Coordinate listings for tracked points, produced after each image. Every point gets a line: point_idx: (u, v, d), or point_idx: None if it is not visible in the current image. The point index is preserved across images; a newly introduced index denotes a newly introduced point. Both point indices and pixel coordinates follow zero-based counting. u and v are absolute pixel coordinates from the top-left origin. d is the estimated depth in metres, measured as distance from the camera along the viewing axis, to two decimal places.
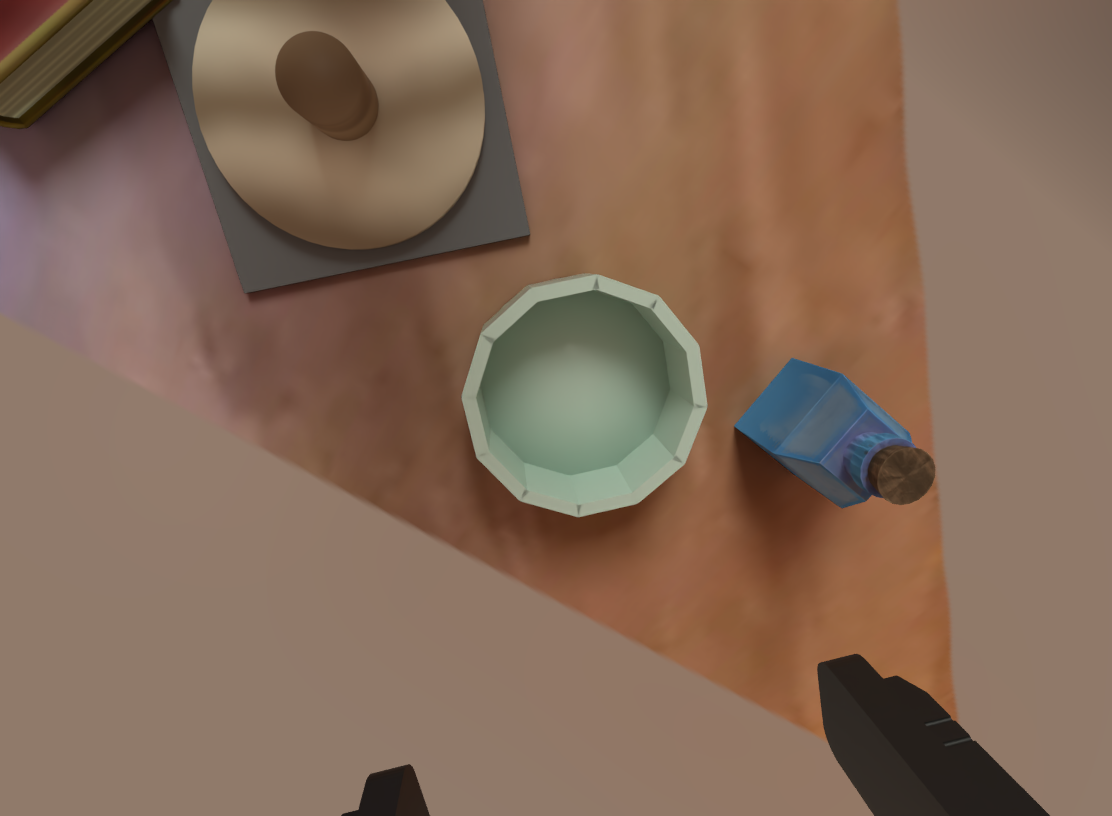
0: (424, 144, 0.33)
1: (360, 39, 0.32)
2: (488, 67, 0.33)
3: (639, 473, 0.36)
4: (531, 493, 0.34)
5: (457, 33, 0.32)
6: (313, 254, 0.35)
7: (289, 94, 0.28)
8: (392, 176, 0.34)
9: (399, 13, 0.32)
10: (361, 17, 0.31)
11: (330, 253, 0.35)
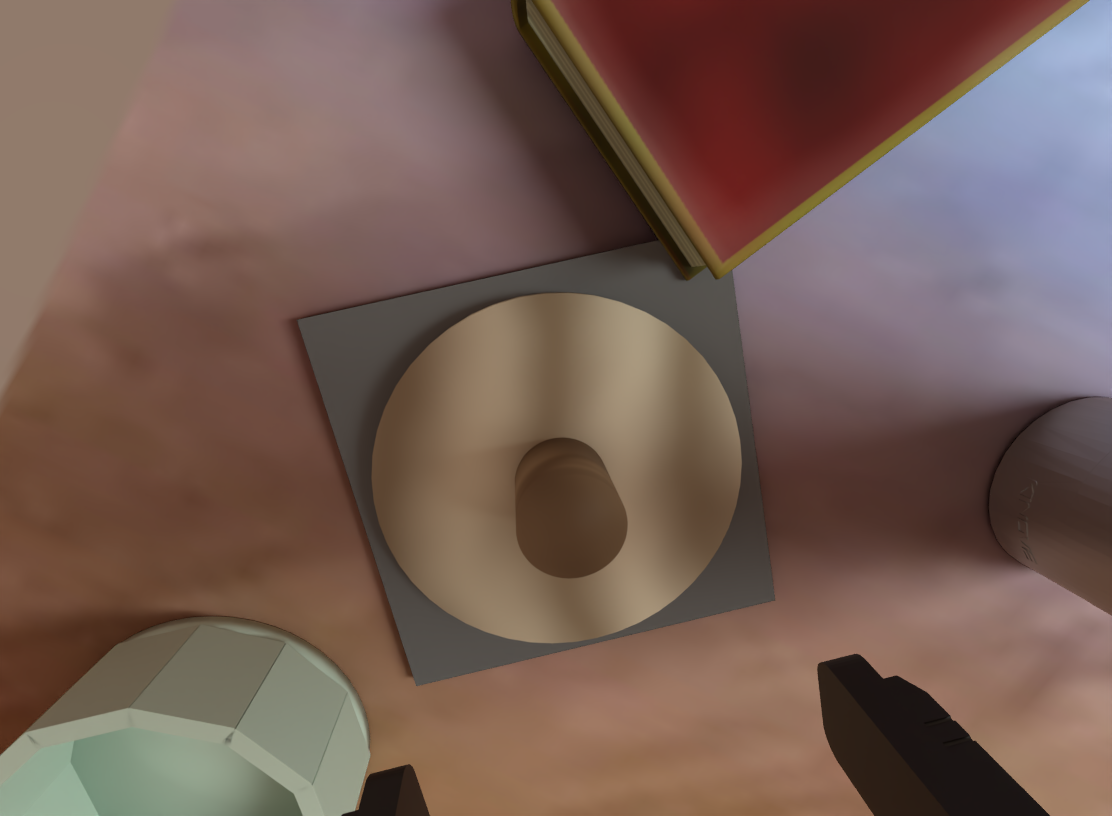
0: (515, 577, 0.26)
1: (634, 505, 0.25)
2: None
3: None
4: None
5: (641, 611, 0.27)
6: (365, 421, 0.24)
7: (548, 491, 0.20)
8: (473, 539, 0.25)
9: (662, 549, 0.26)
10: (658, 507, 0.25)
11: (369, 444, 0.25)
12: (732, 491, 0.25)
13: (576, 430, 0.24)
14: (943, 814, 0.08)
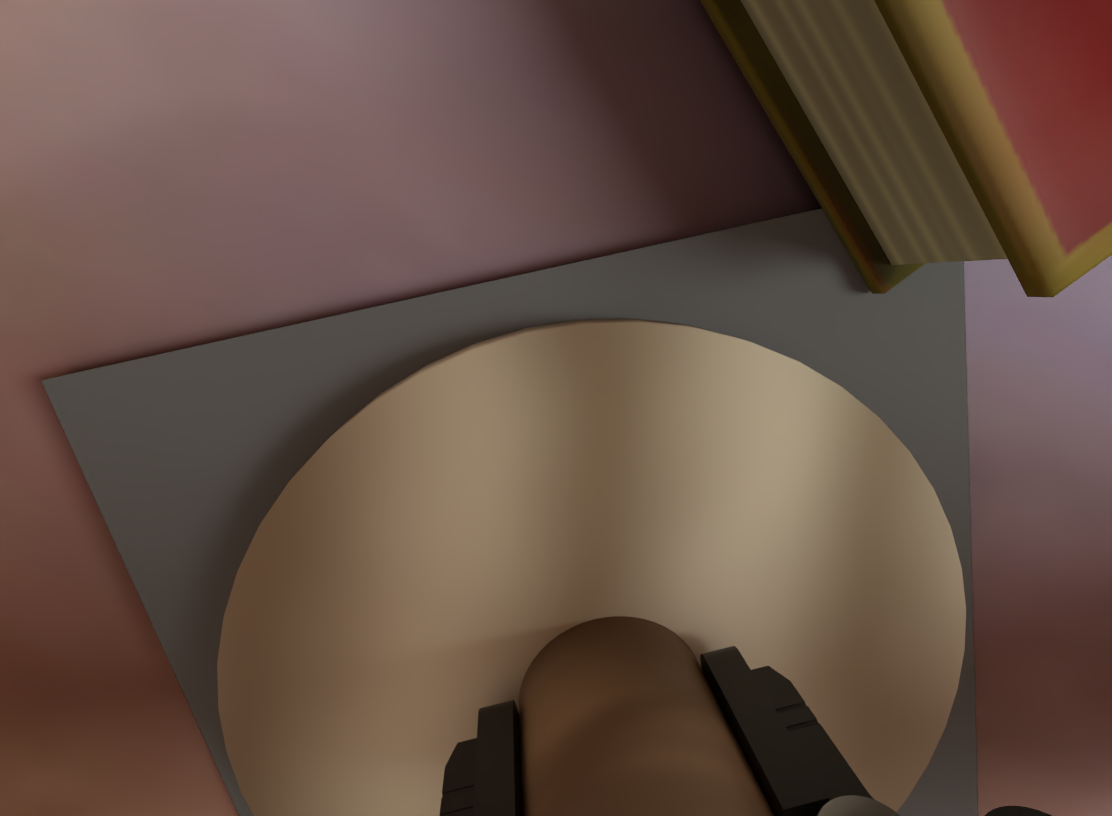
0: None
1: None
2: None
3: None
4: None
5: None
6: (209, 583, 0.12)
7: None
8: (435, 809, 0.13)
9: None
10: None
11: (220, 627, 0.12)
12: (941, 701, 0.13)
13: (646, 602, 0.12)
14: (769, 787, 0.09)
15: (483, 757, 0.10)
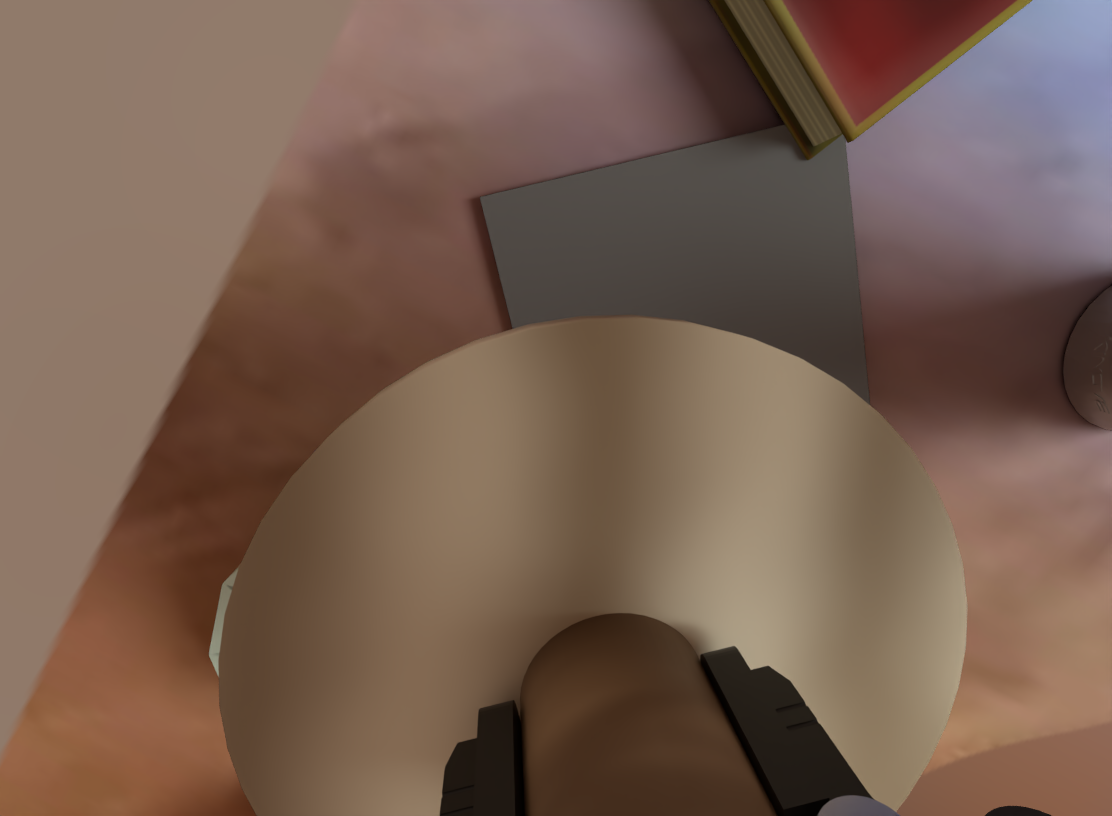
0: None
1: None
2: None
3: None
4: None
5: None
6: (531, 288, 0.29)
7: None
8: (436, 806, 0.13)
9: None
10: None
11: (534, 309, 0.29)
12: (942, 698, 0.13)
13: (647, 599, 0.12)
14: (769, 787, 0.09)
15: (483, 757, 0.10)
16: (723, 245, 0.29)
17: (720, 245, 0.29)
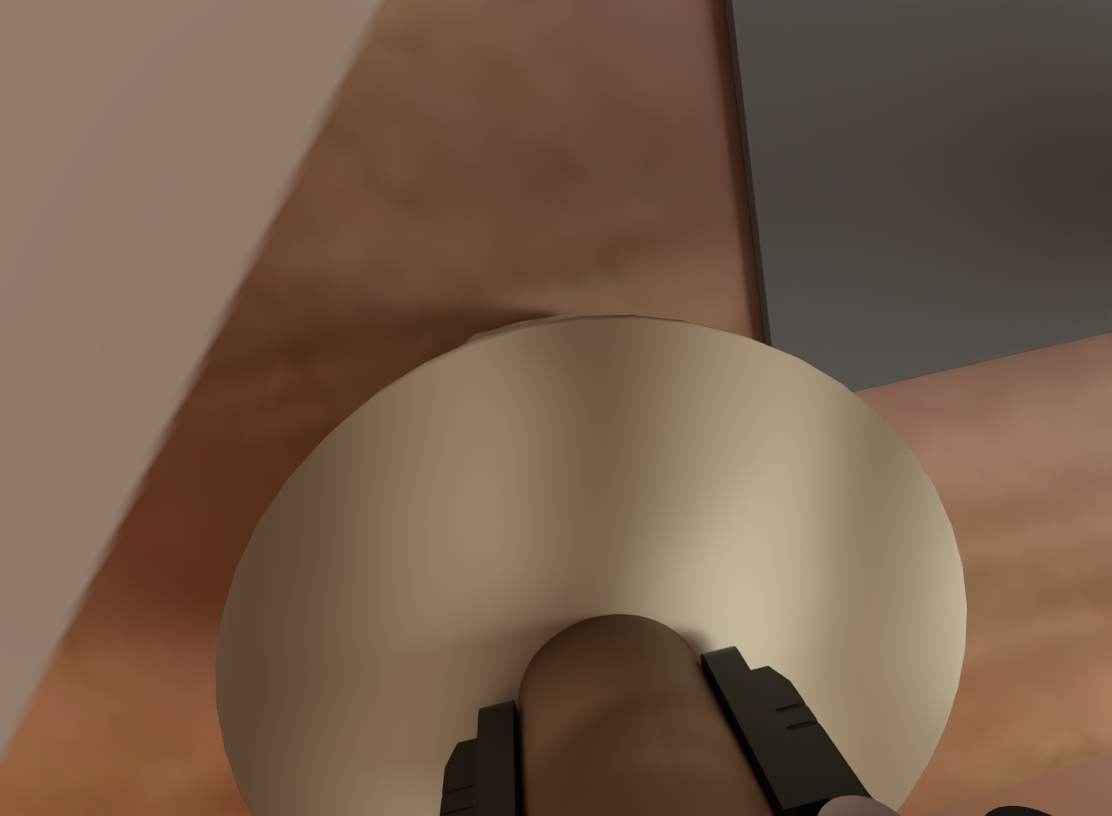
0: None
1: None
2: (991, 349, 0.25)
3: None
4: None
5: None
6: (776, 63, 0.21)
7: None
8: (435, 808, 0.12)
9: None
10: None
11: (776, 94, 0.22)
12: (942, 699, 0.13)
13: (646, 600, 0.12)
14: (769, 787, 0.09)
15: (483, 757, 0.10)
16: (1028, 14, 0.22)
17: (1023, 14, 0.22)
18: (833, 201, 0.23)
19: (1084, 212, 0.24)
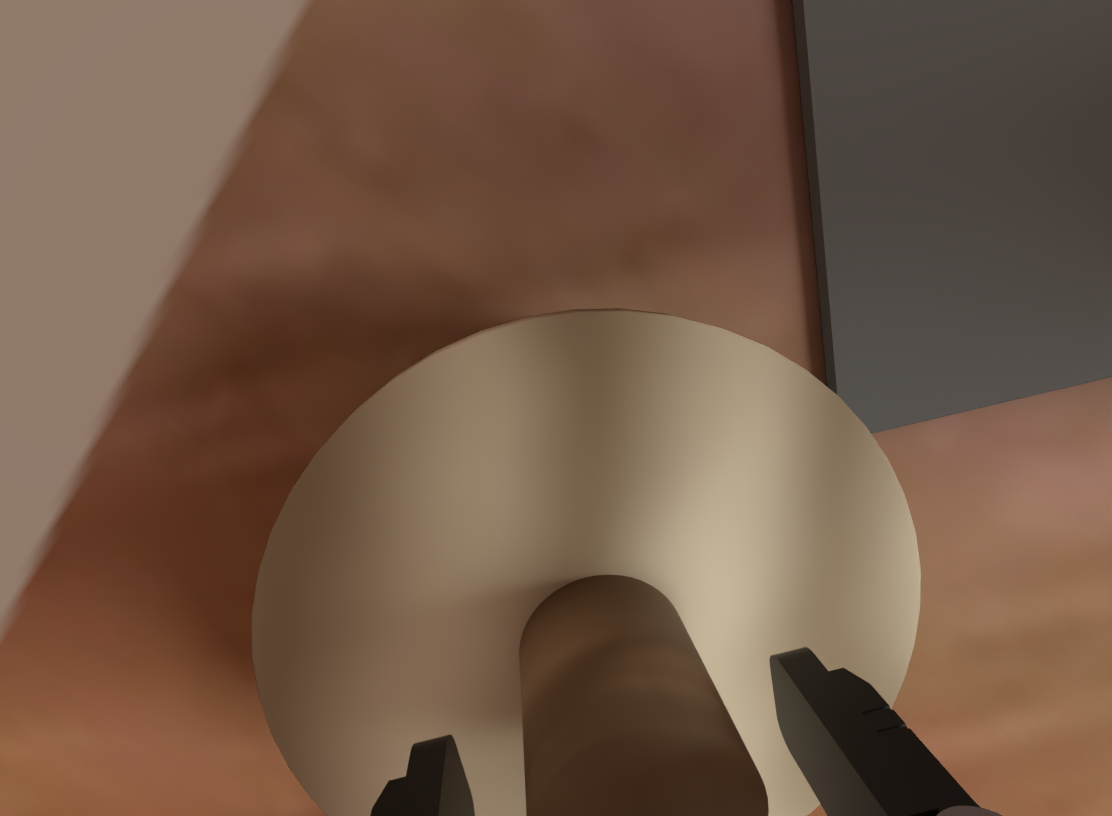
0: (520, 807, 0.15)
1: (730, 684, 0.14)
2: (1100, 366, 0.20)
3: None
4: None
5: None
6: (850, 6, 0.17)
7: (601, 762, 0.09)
8: None
9: (774, 752, 0.15)
10: (771, 685, 0.14)
11: (849, 45, 0.17)
12: (900, 655, 0.15)
13: (633, 562, 0.13)
14: (869, 796, 0.08)
15: (409, 800, 0.10)
16: None
17: None
18: (915, 184, 0.18)
19: None
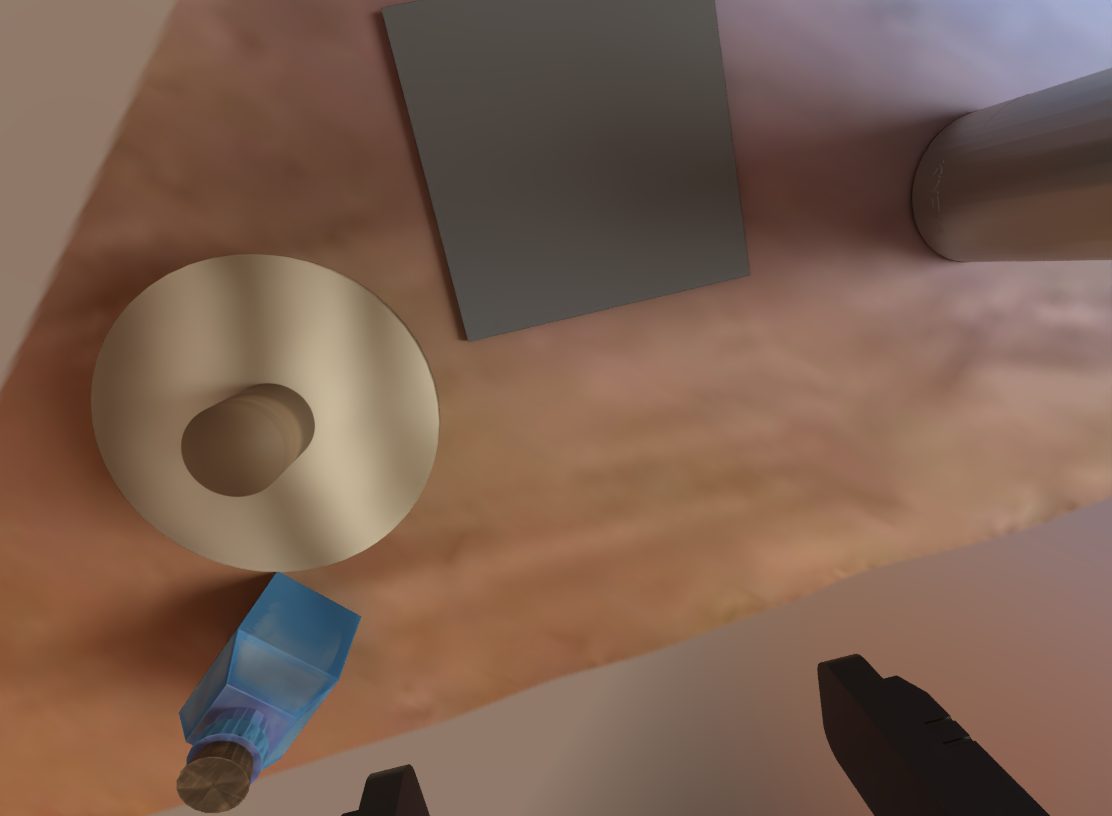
0: (240, 511, 0.29)
1: (343, 443, 0.29)
2: (620, 297, 0.35)
3: None
4: None
5: (363, 541, 0.30)
6: (431, 99, 0.31)
7: (206, 419, 0.23)
8: None
9: (374, 483, 0.29)
10: (365, 445, 0.29)
11: (434, 120, 0.32)
12: (432, 430, 0.29)
13: (280, 377, 0.27)
14: (943, 814, 0.08)
15: None
16: (606, 67, 0.32)
17: (603, 66, 0.32)
18: (486, 194, 0.33)
19: (671, 201, 0.34)
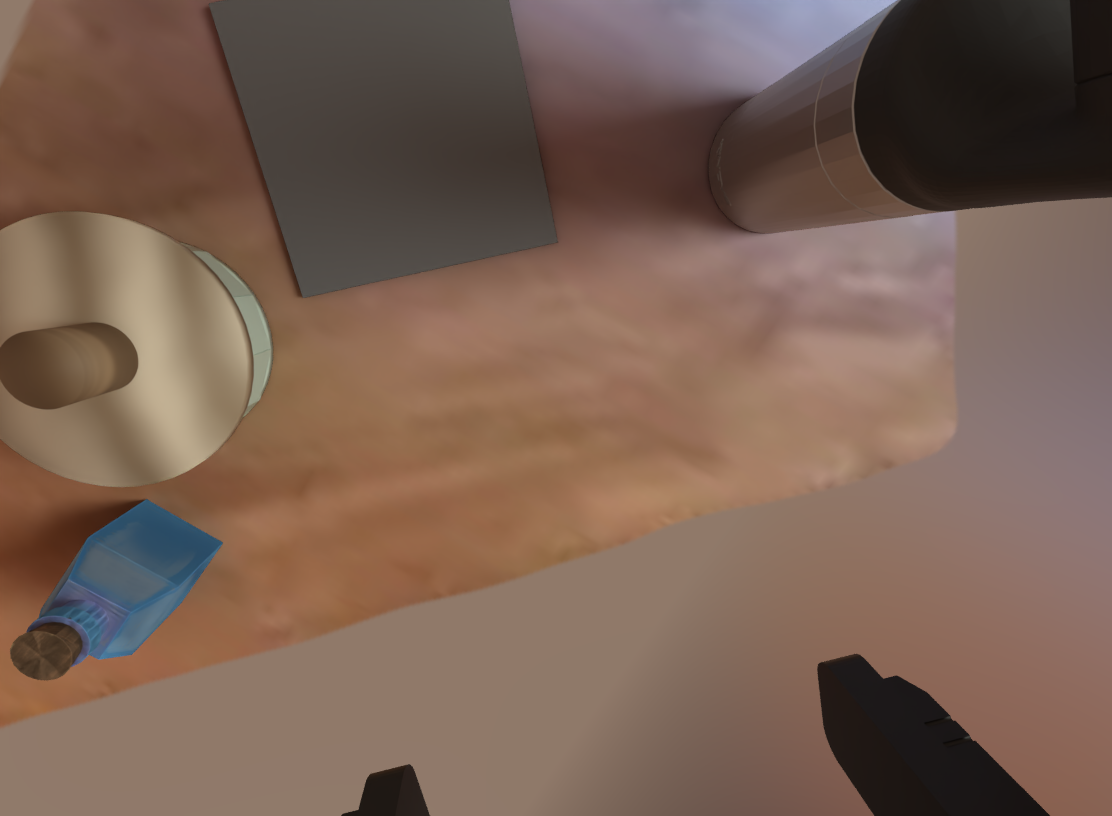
0: (78, 432, 0.34)
1: (163, 376, 0.34)
2: (438, 261, 0.40)
3: None
4: None
5: (187, 462, 0.35)
6: (257, 83, 0.36)
7: (15, 343, 0.28)
8: None
9: (193, 412, 0.34)
10: (183, 378, 0.34)
11: (261, 101, 0.36)
12: (241, 366, 0.34)
13: (105, 317, 0.33)
14: (943, 814, 0.08)
15: None
16: (412, 54, 0.36)
17: (409, 54, 0.36)
18: (311, 166, 0.37)
19: (480, 174, 0.38)
